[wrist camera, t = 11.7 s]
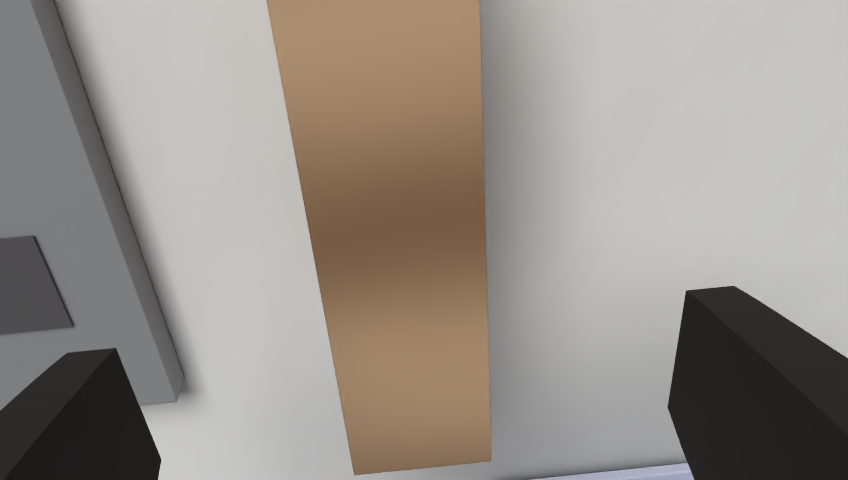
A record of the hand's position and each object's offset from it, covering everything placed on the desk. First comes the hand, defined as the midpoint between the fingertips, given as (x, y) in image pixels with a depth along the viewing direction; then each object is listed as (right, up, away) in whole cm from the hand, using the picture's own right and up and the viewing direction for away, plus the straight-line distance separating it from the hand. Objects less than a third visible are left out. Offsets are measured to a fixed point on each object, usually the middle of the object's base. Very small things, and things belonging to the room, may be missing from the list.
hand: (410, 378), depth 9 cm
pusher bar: (-1, +5, +8) cm, 9 cm away
